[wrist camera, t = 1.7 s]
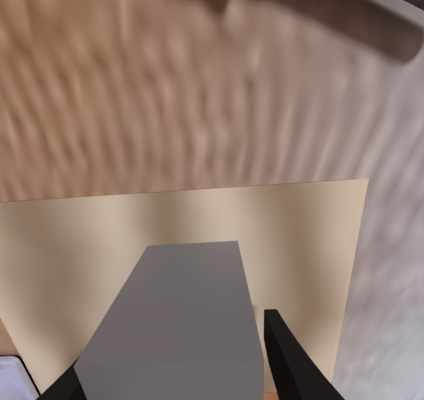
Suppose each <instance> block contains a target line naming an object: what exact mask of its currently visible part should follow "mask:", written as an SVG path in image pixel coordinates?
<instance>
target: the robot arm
mask: <svg viewBox="0 0 424 400" xmlns="http://www.w3.org/2000/svg"><path fill="white" fill-rule="evenodd" d="M264 343H265V348H266V353H267V358H268V363H269V366H270V370H271V373H272V377H273V380H274V384H275V387H276V391H277V394H278V398H279V400H345V399H344V398H343V397H342V396H341V395H340V394H339V393H338V391H337V390H336V389H335V388H334V387H333V386H332V384H331V383H330V382H329V381H328V380H327V378H326V377H325V376H324V375H323V373H322V372H321V371H320V370H319V368H318V367H317V366H316V365H315V363H314V362H313V361H312V360H311V358H310V357H309V356H308V354H307V353H306V352H305V350H304V349H303V347H302V346H301V345H300V343H299V342H298V341H297V339H296V338H295V336H294V335H293V333H292V332H291V331H290V329H289V328H288V326H287V325H286V323H285V321H284V320H283V318H282V317H281V315H280V313H279V312H278V310H277V309H264ZM79 357H80V356H79ZM79 357H78V358H77V360H78V359H79ZM77 360H76V361H75V362H74V363H73V364H72V365H71V366H70V367H69V368H68V369H67V370H66V371H65V372H64V373H63V374H62V375H61V376H60V377H59V378H58V379H57V380H56V381H55V382H54V383H53V384H52V385H51V386H50V387H49V388H48V389H47V390H45V391H44V392H43V393H42V394H41V395H40V396H39V395H38V393H37V391H36V389H35V387H34V385H33V383H32V381H31V380H30V378H29V376H28V374H27V372H26V370H25V368H24V367H23V365H22V363H21V361H20V360H19V358H17V357H15V356H1V357H0V400H87V398H86V395H85V393H84V391H83V388H82V386H81V383H80V381H79V379H78V376H77V374H76V372H75V369H74V365H75V363H76V362H77Z"/></svg>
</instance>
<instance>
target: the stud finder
mask: <svg viewBox="0 0 424 400" xmlns="http://www.w3.org/2000/svg"><path fill="white" fill-rule="evenodd" d="M74 369H75V372H76V374H77V376H78V379H79V381H80V383H81V386H82V388H83V391H84V393H85V395H86V398H87V400H264V356H263V352H262V347H261V343H260V338H259V334H258V329H257V325H256V320H255V316H254V311H253V307H252V303H251V298H250V294H249V289H248V285H247V280H246V276H245V271H244V267H243V262H242V258H241V253H240V249H239V244H238V241H221V242H203V243H185V244H167V245H149V246H147V248H146V249H145V251H144V252H143V254H142V256H141V257H140V259H139V261H138V262H137V264H136V266H135V267H134V269H133V270H132V272H131V274H130V275H129V277H128V279H127V280H126V282H125V283H124V285H123V287H122V288H121V290H120V292H119V293H118V295H117V297H116V298H115V300H114V301H113V303H112V305H111V306H110V308H109V310H108V311H107V313H106V314H105V316H104V318H103V319H102V321H101V323H100V324H99V326H98V328H97V329H96V331H95V332H94V334H93V336H92V337H91V339H90V341H89V342H88V344H87V345H86V347H85V349H84V350H83V352H82V354H81V355H80V357H79V359H78V360H77V362H76V363H75V365H74Z"/></svg>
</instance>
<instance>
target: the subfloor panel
mask: <svg viewBox="0 0 424 400" xmlns="http://www.w3.org/2000/svg"><path fill="white" fill-rule="evenodd" d="M368 180H369V179H354V180H339V181H323V182H308V183H292V184H277V185H261V186H246V187H230V188H215V189H199V190H184V191H168V192H153V193H137V194H122V195H106V196H91V197H75V198H60V199H44V200H29V201H13V202H0V318H1V320H2V322H3V324H4V325H5V327H6V329H7V331H8V333H9V335H10V337H11V339H12V341H13V342H14V344H15V346H16V348H17V350H18V352H19V354H20V356H21V358H22V359H23V361H24V363H25V365H26V367H27V369H28V371H29V373H30V374H31V376H32V378H33V380H34V382H35V384H36V386H37V388H38V390H39V391H40V393H41V394H42V393H43V392H44V391H45V390H47V389H48V388H49V387H50V386H51V385H52V384H53V383H54V382H55V381H56V380H57V379H58V378H59V377H60V376H61V375H62V374H63V373H64V372H65V371H66V370H67V369H68V368H69V367H70V366H71V365H72V364H73V363H74V362H75V361H76V360H77V358H78V357H79V356H80V355H81V354H82V352H83V350H84V349H85V347H86V345H87V344H88V342H89V341H90V339H91V337H92V336H93V334H94V332H95V331H96V329H97V328H98V326H99V324H100V323H101V321H102V319H103V318H104V316H105V314H106V313H107V311H108V310H109V308H110V306H111V305H112V303H113V301H114V300H115V298H116V297H117V295H118V293H119V292H120V290H121V288H122V287H123V285H124V283H125V282H126V280H127V279H128V277H129V275H130V274H131V272H132V270H133V269H134V267H135V266H136V264H137V262H138V261H139V259H140V257H141V256H142V254H143V252H144V251H145V249H146V248H147V246H149V245H167V244H185V243H203V242H221V241H238V244H239V249H240V253H241V258H242V262H243V267H244V271H245V276H246V280H247V285H248V289H249V294H250V298H251V303H252V307H253V311H254V316H255V320H256V325H257V329H258V334H259V338H260V343H261V347H262V352H263V356H264V400H279V398H278V394H277V391H276V387H275V384H274V380H273V377H272V373H271V370H270V366H269V363H268V358H267V353H266V348H265V343H264V309H277V310H278V312H279V313H280V315H281V317H282V318H283V320H284V321H285V323H286V325H287V326H288V328H289V329H290V331H291V332H292V333H293V335H294V336H295V338H296V339H297V341H298V342H299V343H300V345H301V346H302V347H303V349H304V350H305V352H306V353H307V354H308V356H309V357H310V358H311V360H312V361H313V362H314V363H315V365H316V366H317V367H318V368H319V370H320V371H321V372H322V373H323V375H324V376H325V377H326V378H327V380H328V381H329V382H330V383H332V378H333V372H334V367H335V361H336V356H337V350H338V345H339V339H340V334H341V328H342V323H343V317H344V312H345V306H346V301H347V295H348V290H349V284H350V279H351V273H352V268H353V262H354V257H355V251H356V246H357V240H358V235H359V229H360V224H361V218H362V213H363V207H364V202H365V196H366V191H367V185H368Z"/></svg>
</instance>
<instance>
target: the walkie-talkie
mask: <svg viewBox="0 0 424 400" xmlns="http://www.w3.org/2000/svg"><path fill="white" fill-rule="evenodd" d="M404 1H406V2H408V3H410V4H412V5H414V6H416V7H418V8H420V9H422V10H424V0H404Z"/></svg>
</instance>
